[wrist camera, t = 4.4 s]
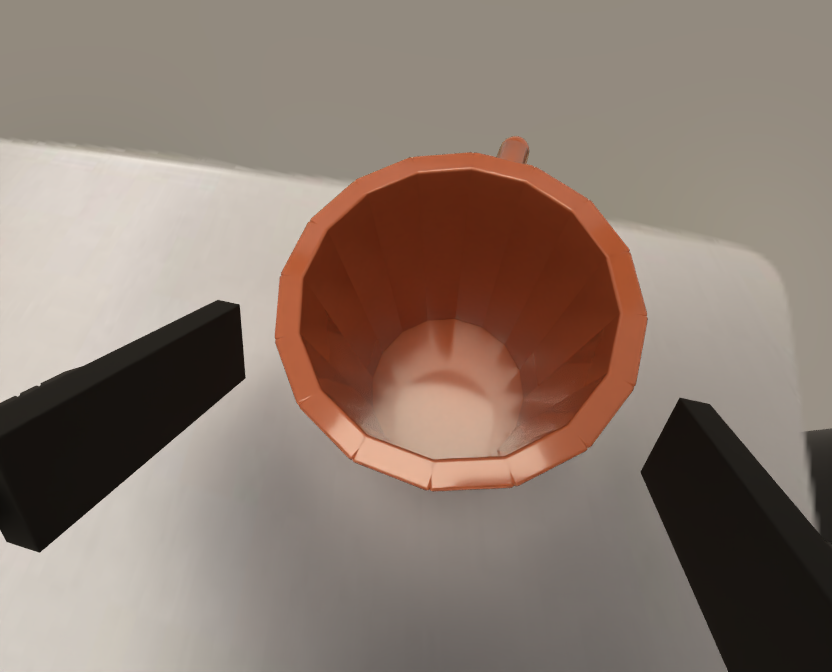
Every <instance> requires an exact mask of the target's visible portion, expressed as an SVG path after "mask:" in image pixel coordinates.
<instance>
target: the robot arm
mask: <svg viewBox="0 0 832 672" xmlns="http://www.w3.org/2000/svg"><path fill="white" fill-rule="evenodd" d="M244 379H245V366H244V354H243V341H242V328H241V316H240V305H239V304H234V303H230V302H225V301H220V300H217V301H215V302H213V303H210V304H208V305H206V306H204V307H202V308H200V309H198V310H196V311H194V312H192V313H190V314H188V315H186V316H184V317H182V318H180V319H178V320H176V321H174V322H172V323H170V324H168V325H166V326H164V327H162V328H160V329H158V330H156V331H154V332H152V333H150V334H148V335H145V336H143V337H141V338H139V339H137V340H135V341H133V342H131V343H129V344H127V345H125V346H123V347H121V348H119V349H117V350H115V351H113V352H111V353H109V354H107V355H105V356H103V357H101V358H99V359H97V360H95V361H93V362H91V363H89V364H87V365H85V366H82V367H79V368H75V369H72V370H69V371H65V372H63V373H61V374H59V375H57V376H55V377H53V378H51V379H49V380H47V381H45V382H43V383H41V385H40V386H34V387H32V388H30V389H28V390H26V391H24V392H22V393H20V396H18V397H17V396H14V397H12V398H10V399H8V400H5V401H3V402H1V403H0V530H1V532H2V534H3V536H4V538H5V540H6V542H9V543H12V544H15V545H18V546H21V547H24V548H27V549H30V550H33V551H36V552H39V553H40V552H41V551H42V550H43V549H45V548H46V547H47V546H48V545H49V544H50V543H52V542H53V541H54V540H55V539H56V538H58V537H59V536H60V535H61V534H62V533H63V532H65V531H66V530H67V529H68V528H69V527H70V526H72V525H73V524H74V523H75V522H76V521H78V520H79V519H80V518H81V517H82V516H83V515H85V514H86V513H87V512H88V511H89V510H91V509H92V508H93V507H94V506H95V505H96V504H98V503H99V502H100V501H101V500H102V499H103V498H105V497H106V496H107V495H108V494H109V493H111V492H112V491H113V490H114V489H115V488H116V487H118V486H119V485H120V484H121V483H122V482H124V481H125V480H126V479H127V478H128V477H129V476H131V475H132V474H133V473H134V472H135V471H136V470H138V469H139V468H140V467H141V466H142V465H144V464H145V463H146V462H147V461H148V460H149V459H151V458H152V457H153V456H154V455H155V454H157V453H158V452H159V451H160V450H161V449H162V448H164V447H165V446H166V445H167V444H168V443H169V442H171V441H172V440H173V439H174V438H175V437H177V436H178V435H179V434H180V433H181V432H182V431H184V430H185V429H186V428H187V427H188V426H190V425H191V424H192V423H193V422H194V421H195V420H197V419H198V418H199V417H200V416H201V415H202V414H204V413H205V412H206V411H207V410H208V409H210V408H211V407H212V406H213V405H214V404H215V403H217V402H218V401H219V400H220V399H221V398H223V397H224V396H225V395H226V394H227V393H228V392H230V391H231V390H232V389H233V388H234V387H235V386H237V385H238V384H239V383H240V382H241V381H243V380H244ZM641 474H642V477H643V479H644V481H645V483H646V486H647V488H648V490H649V493H650V495H651V497H652V499H653V502H654V504H655V506H656V508H657V511H658V513H659V515H660V518H661V520H662V522H663V524H664V527H665V529H666V531H667V533H668V536H669V538H670V540H671V543H672V545H673V547H674V549H675V552H676V554H677V556H678V559H679V561H680V563H681V565H682V568H683V570H684V572H685V574H686V577H687V579H688V581H689V584H690V586H691V588H692V590H693V593H694V595H695V597H696V599H697V602H698V604H699V606H700V609H701V611H702V613H703V615H704V618H705V620H706V622H707V625H708V627H709V629H710V631H711V634H712V636H713V638H714V640H715V643H716V645H717V647H718V650H719V652H720V654H721V656H722V659H723V661H724V663H725V666H726V668H727V670H728V672H832V543H829V542H826V541H825V540H824V539H823V538H822V537H821V535H820V534H819V533H818V532H817V531H816V529H815V528H814V527H813V526H812V525H811V523H810V522H809V521H808V520H807V519H806V518H805V516H804V515H803V514H802V513H801V512H800V510H799V509H798V508H797V507H796V506H795V505H794V503H793V502H792V501H791V500H790V499H789V497H788V496H787V495H786V494H785V493H784V491H783V490H782V489H781V488H780V487H779V486H778V484H777V483H776V482H775V481H774V480H773V478H772V477H771V476H770V475H769V474H768V473H767V471H766V470H765V469H764V468H763V467H762V465H761V464H760V463H759V462H758V461H757V460H756V458H755V457H754V456H753V455H752V454H751V452H750V451H749V450H748V449H747V448H746V446H745V445H744V444H743V443H742V442H741V441H740V439H739V438H738V437H737V436H736V435H735V433H734V432H733V431H732V430H731V429H730V428H729V426H728V425H727V424H726V423H725V422H724V420H723V419H722V418H721V417H720V416H719V414H718V413H717V412H716V411H715V410H714V409H713V407H712V406H711V405H710V404H707V403H702V402H697V401H693V400H688V399H683V398H679V400H678V402H677V404H676V406H675V408H674V409H673V411H672V413H671V415H670V417H669V419H668V421H667V423H666V425H665V427H664V428H663V430H662V432H661V434H660V436H659V438H658V440H657V442H656V444H655V445H654V447H653V449H652V451H651V453H650V455H649V457H648V459H647V461H646V463H645V464H644V466H643V468H642V470H641Z"/></svg>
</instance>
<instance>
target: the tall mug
mask: <svg viewBox="0 0 832 672" xmlns="http://www.w3.org/2000/svg"><path fill="white" fill-rule="evenodd" d="M528 155H529V146H528V144H527V142H526V141H525V140H524V139H523V138H521V137H519V136H512V137H509V138H507V139H506V140H505V141H504V142H503V143H502V145H501V146H500V149H499V152H498V154H497V157H493V156H489V155H485V154H480V153H474V154H473V153H472V152H469V153H455V154H442V155H430V156H417V157H413V158H411V157H409V158H407V159H404V160H402V161H400V162H397V163H395V164H392V165H390V166H387V167H385V168H383V169H380V170H378V171H375V172H373V173H370V174H368V175H365V176H363V177H361V178H358V179H356V182H355V181H354V182H352V183H351V184H350V185H349V186H348V187H347V188H345V189H344V190H343V191H342V192H341V193H340V194H339V195H338V196H336V197H335V198H334V199H333V200H332V201H331V202H330V203H328V204H327V205H326V206H325V207H324V208H323V209H322V210H320V211H319V212H318V213H317V214H316V215H315V216H314V217H312V218H311V220H310V222H308V223H307V225H306V227H305V229H304V231H303V233H302V235H301V237H300V238H299V240H298V242H297V244H296V246H295V248H294V250H293V252H292V254H291V255H290V257H289V259H288V261H287V263H286V265H285V267H284V269H283V271H282V272H281V276H280V282H279V293H278V305H277V317H276V328H275V339H276V340H275V343H276V346H277V349H278V352H279V355H280V357H281V360H282V363H283V366H284V369H285V372H286V374H287V377H288V380H289V383H290V386H291V388H292V391H293V394H294V397H295V400H296V403H297V404H298V405H299V407H300V409H301V410H302V411H303V412H304V413H305V414H306V415H307V416H308V417H309V418H310V419H311V420H312V421H313V422H314V423H315V424H316V425H317V426H318V427H319V428H320V430H321V431H322V432H323V433H324V434H325V435H326V436H327V437H328V438H329V439H330V440H331V441H332V442H333V443H334V444H335V445H336V446H337V447H338V448H339V449H340V450H341V451H342V452H343V453H344V454H345V455H346V456H347V457H348V458H349V459H351V460H353V462H354V463H357V464H360V465H362V466H365V467H367V468H370V469H372V470H375V471H377V472H380V473H383V474H385V475H388V476H390V477H393V478H395V479H398V480H400V481H403V482H405V483H408V484H411V485H413V486H416V487H418V488H421V489H423V490H426V491H427V490H429V489H430V491H433V492H434V491H456V490H477V489H499V488H512V487H514V486H519V485H521V484H523V483H525V482H527V481H529V480H531V479H533V478H535V477H537V476H539V475H541V474H543V473H545V472H547V471H548V470H550V469H552V468H554V467H556V466H558V465H560V464H562V463H564V462H566V461H568V460H570V459H572V458H574V457H576V456H578V455H579V454H581V453H583V452H585V451H586V450H587V448H589V447H591V446H592V445H593V443H594V442H595V441H596V439H597V438H598V437H599V435H600V434H601V433H602V431H603V430H604V429H605V427H606V426H607V425H608V423H609V422H610V421H611V419H612V418H613V417H614V415H615V414H616V413H617V411H618V410H619V409H620V407H621V406H622V405H623V403H624V402H625V401H626V399H627V398H628V397H629V395H630V394H631V392H632V391H633V389H634V386H635V385H636V381H637V375H638V370H639V364H640V359H641V353H642V348H643V342H644V337H645V331H646V325H647V320H648V318H647V311H646V308H645V304H644V300H643V297H642V293H641V289H640V286H639V282H638V278H637V275H636V271H635V267H634V264H633V260H632V256H631V253H630V252H629V251H630V250H629V248H628V247H627V246H626V244H625V243H624V242H623V241H622V239H621V238H620V237H619V236H618V234H617V233H616V232H615V231H614V229H613V228H612V227H611V225H610V224H609V223H608V222H607V220H606V219H605V218H604V217H603V215H602V214H601V213H600V212H599V210H598V209H597V208H596V207H595V205H594V204H593V203H592V202H591V201H590V200H589V201H588V199H587V198H586V197H584V196H583V195H581V194H579V193H578V192H576V191H575V190H573V189H571V188H570V187H568V186H566V185H565V184H563V183H562V182H560V181H558V180H557V179H555V178H553V177H552V176H550V175H548V174H547V173H545V172H544V171H542V170H540V169H539V168H537V167H535V168H534V166H532V165H528V164H526V163H527V159H528Z"/></svg>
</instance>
